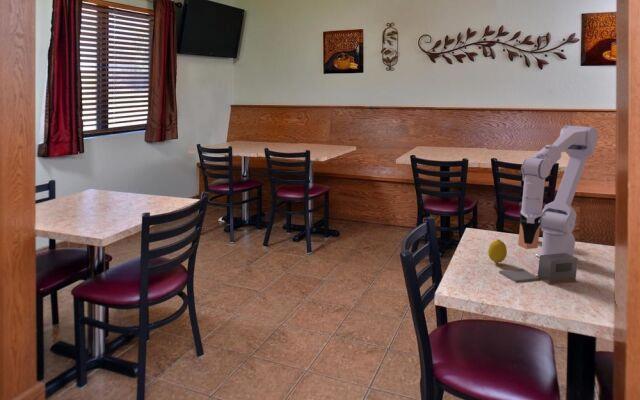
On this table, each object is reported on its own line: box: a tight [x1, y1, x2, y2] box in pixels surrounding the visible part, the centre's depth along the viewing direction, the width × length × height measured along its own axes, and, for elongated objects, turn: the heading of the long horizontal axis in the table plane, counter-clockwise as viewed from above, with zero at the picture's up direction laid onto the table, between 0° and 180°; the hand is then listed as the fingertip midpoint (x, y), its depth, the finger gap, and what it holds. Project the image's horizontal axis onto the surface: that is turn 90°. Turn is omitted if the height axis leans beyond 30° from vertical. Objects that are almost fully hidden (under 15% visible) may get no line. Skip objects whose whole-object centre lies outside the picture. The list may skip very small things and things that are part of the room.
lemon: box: [487, 239, 508, 264], centre depth 162 cm, size 6×6×8 cm
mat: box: [498, 268, 540, 283], centre depth 152 cm, size 8×8×1 cm
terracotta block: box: [517, 223, 541, 250], centre depth 157 cm, size 4×4×7 cm
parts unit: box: [536, 253, 579, 285], centre depth 149 cm, size 9×6×7 cm, turn 105°
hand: (528, 240), depth 157 cm, fingers closed on terracotta block, 6 cm apart
